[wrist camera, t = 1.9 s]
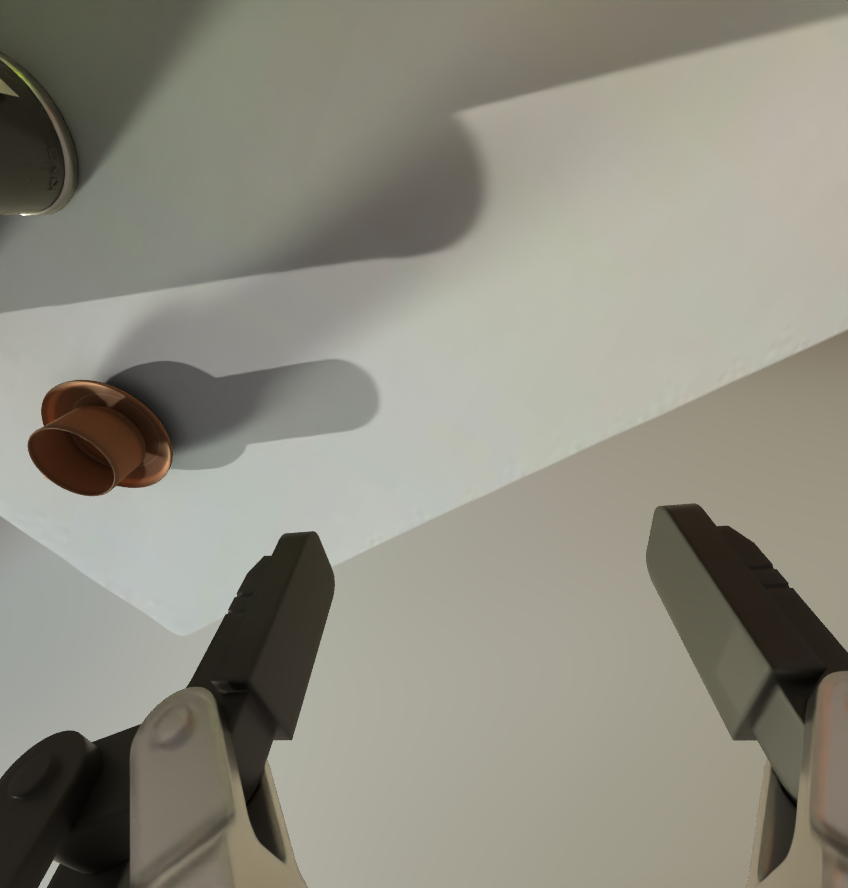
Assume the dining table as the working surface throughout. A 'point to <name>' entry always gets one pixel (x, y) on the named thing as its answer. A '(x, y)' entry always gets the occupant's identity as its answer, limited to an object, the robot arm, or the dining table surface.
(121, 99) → the dining table surface
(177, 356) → the dining table surface
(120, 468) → the cup and saucer
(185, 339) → the dining table surface
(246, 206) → the dining table surface
